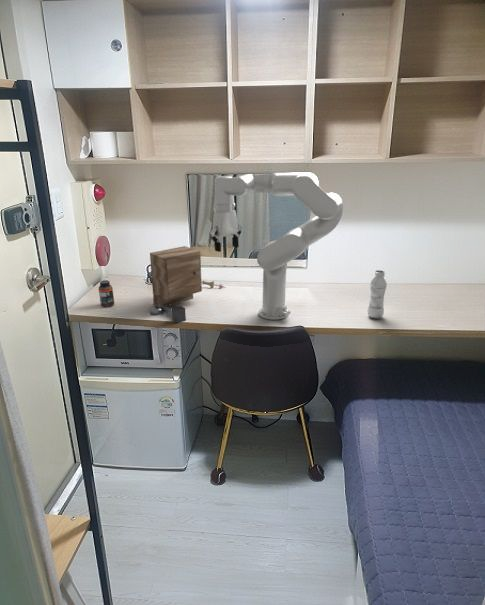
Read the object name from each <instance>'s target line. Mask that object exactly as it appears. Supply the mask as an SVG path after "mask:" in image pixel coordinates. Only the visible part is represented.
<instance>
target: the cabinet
mask: <svg viewBox="0 0 485 605" xmlns="http://www.w3.org/2000/svg"><path fill="white" fill-rule="evenodd" d="M201 257H202V256H201V251H200V250H197V249H195V248H191V247H188V246H186V245H184V246H178V247H174V248H168V249H162V250H157V251H152V252H149V261H150V273H151V285H152V298H153V306H158V305H157V304H162V305H163V306H165V307H169V306H172V305H175V304H178V303H183V302H186V301H190V300H194V294H196V293H200V292H202V291H203V288H202V287H203V284H202V283H201V281H202V264H201V263H202V262H201V260H202V259H201Z"/></svg>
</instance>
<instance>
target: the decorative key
mask: <svg viewBox="0 0 485 605" xmlns="http://www.w3.org/2000/svg"><path fill="white" fill-rule="evenodd" d="M201 285H207V286H209V287H210V288H211V289H213V288H214V287H215V286H216V287H218V288H219V289H222V288H226V286H225V285H222V283H219V284H216V283H215V280H212V281H206V280H201Z"/></svg>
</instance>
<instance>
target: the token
mask: <svg viewBox="0 0 485 605" xmlns="http://www.w3.org/2000/svg"><path fill="white" fill-rule="evenodd" d="M149 313H150V315H151V316H160V315H162V314H163V312H162V307H161V306H155V305H152V306H151V307H149Z"/></svg>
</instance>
